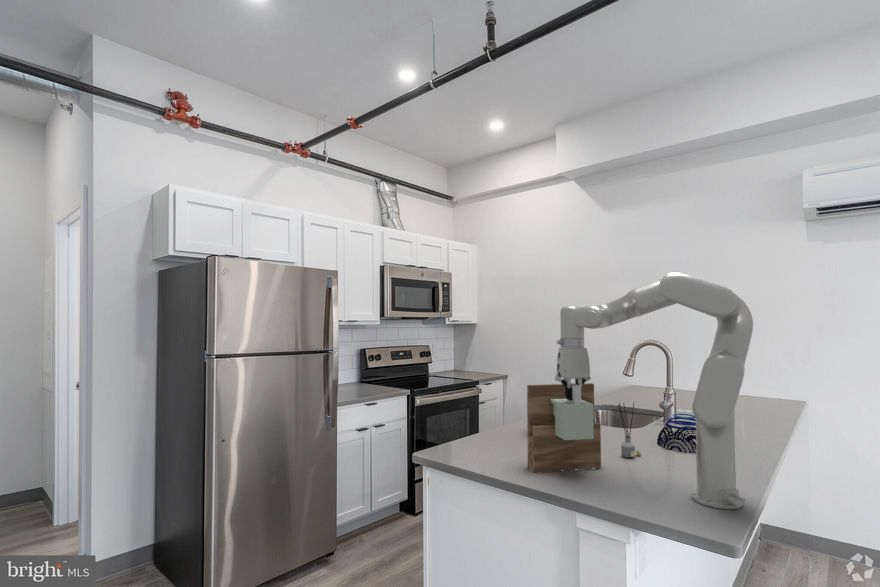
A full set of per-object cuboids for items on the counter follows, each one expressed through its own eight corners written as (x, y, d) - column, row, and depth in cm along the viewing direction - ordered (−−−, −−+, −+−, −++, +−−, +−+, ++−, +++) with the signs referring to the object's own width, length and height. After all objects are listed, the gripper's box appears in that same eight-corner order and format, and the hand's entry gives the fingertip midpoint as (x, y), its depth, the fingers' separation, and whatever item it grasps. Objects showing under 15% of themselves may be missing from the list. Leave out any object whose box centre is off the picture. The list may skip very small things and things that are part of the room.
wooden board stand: (601, 468, 161) (599, 385, 163) (534, 473, 157) (534, 387, 158) (592, 463, 167) (591, 383, 169) (527, 467, 163) (527, 384, 164)
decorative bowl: (721, 447, 188) (720, 410, 189) (704, 457, 175) (703, 418, 175) (668, 438, 203) (668, 404, 204) (649, 447, 189) (648, 410, 190)
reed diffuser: (625, 461, 170) (624, 404, 171) (610, 455, 176) (609, 401, 177) (644, 457, 175) (643, 402, 176) (629, 452, 181) (628, 399, 182)
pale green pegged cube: (593, 438, 153) (593, 385, 154) (564, 440, 151) (564, 386, 152) (577, 430, 163) (577, 380, 164) (550, 431, 161) (550, 381, 162)
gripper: (554, 344, 152) (555, 402, 151) (600, 343, 155) (601, 400, 154) (545, 343, 159) (545, 398, 159) (588, 342, 163) (589, 396, 162)
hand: (573, 399), depth 156 cm, fingers closed on pale green pegged cube
